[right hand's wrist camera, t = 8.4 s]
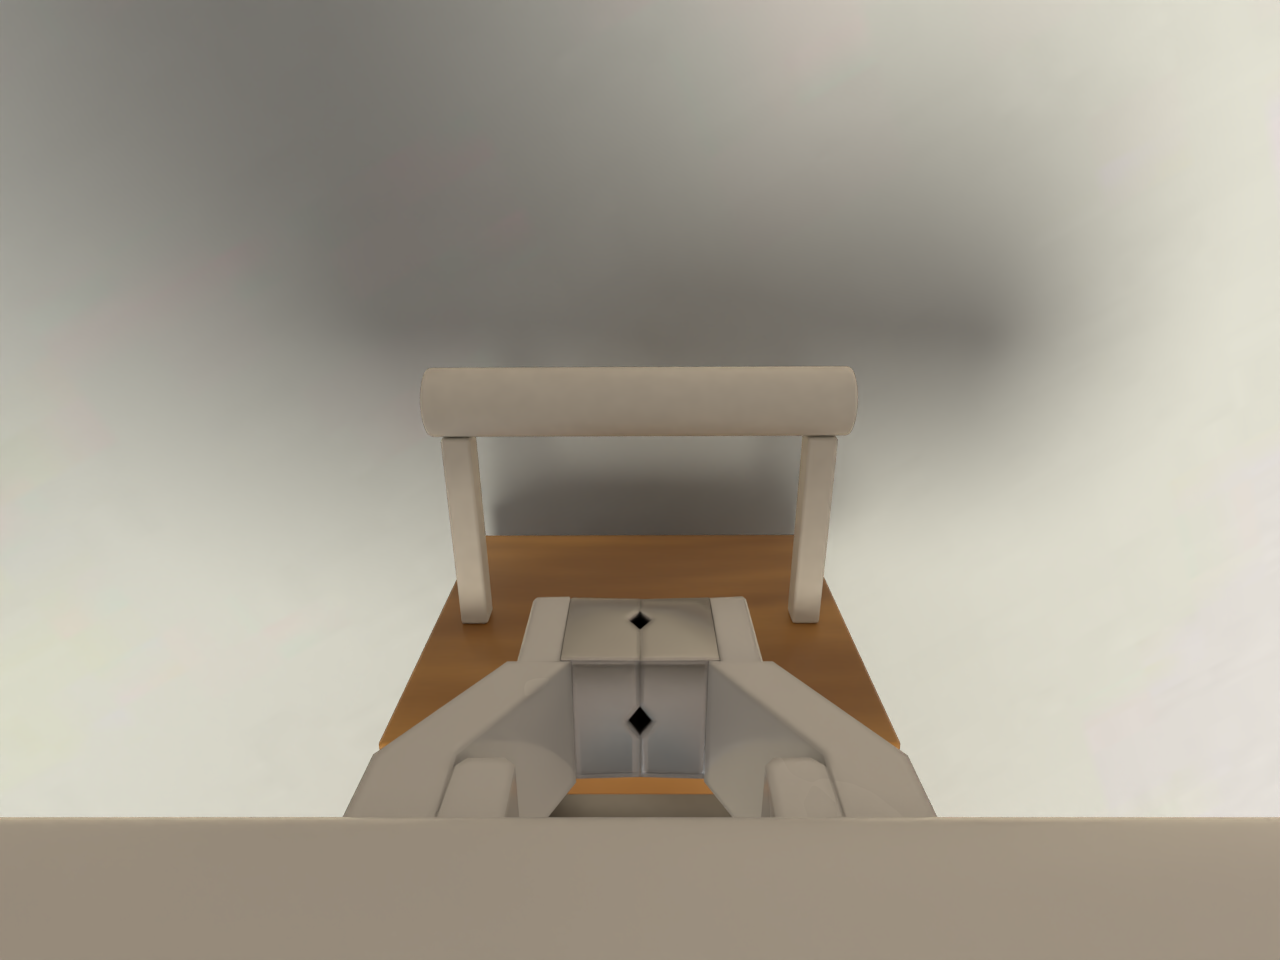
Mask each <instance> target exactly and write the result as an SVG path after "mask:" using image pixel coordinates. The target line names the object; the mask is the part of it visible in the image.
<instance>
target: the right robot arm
mask: <svg viewBox="0 0 1280 960" xmlns="http://www.w3.org/2000/svg"><path fill="white" fill-rule="evenodd" d="M622 777H656V778H693V779H704V782H705V784H706V785H707V786H708V787H709V789H710V790H711V791H712V792H713V794H714V795H715V796H716V797H717V799H718V800H719V801H720V802H721V804H722V805H723V806H724V807H725V809H726V810H727V811H728V812H729V814H730V815H731V816H732V817H549V816H550V814H551V813H552V812H553V811H554V809H555V808H556V807H557V806H558V804H559V803H560V802H561V801H562V799H563V798H564V797H565V796H566V794H567V793H568V792H569V791H570V789H571V788H572V787H573V786H574V784H575V783H576V779H587V778H622ZM0 960H1280V817H937V816H936V813H935V811H934V809H933V807H932V805H931V803H930V801H929V799H928V797H927V795H926V793H925V791H924V788H923V786H922V784H921V782H920V780H919V778H918V776H917V774H916V772H915V770H914V768H913V766H912V763H911V761H910V759H909V757H908V755H906V754H905V753H903V752H902V751H900V750H899V749H898V748H896V747H895V746H893V745H892V744H890V743H889V742H888V741H886V740H885V739H883V738H882V737H880V736H879V735H878V734H876V733H875V732H873V731H872V730H870V729H869V728H868V727H866V726H865V725H863V724H862V723H860V722H859V721H857V720H856V719H855V718H853V717H852V716H850V715H849V714H847V713H846V712H845V711H843V710H842V709H840V708H839V707H837V706H836V705H835V704H833V703H832V702H830V701H829V700H827V699H826V698H825V697H823V696H822V695H820V694H819V693H817V692H816V691H815V690H813V689H812V688H810V687H809V686H807V685H806V684H804V683H803V682H802V681H800V680H799V679H797V678H796V677H794V676H793V675H792V674H790V673H789V672H787V671H786V670H784V669H783V668H782V667H780V666H779V665H777V664H776V663H774V662H773V661H763V660H762V656H761V653H760V649H759V645H758V642H757V638H756V634H755V631H754V627H753V623H752V620H751V616H750V612H749V609H748V605H747V601H746V599H745V598H744V597H743V596H739V597H715V598H709V597H706V598H665V599H640V598H588V597H572V598H570V597H537V598H536V599H535V600H534V601H533V604H532V608H531V612H530V615H529V619H528V623H527V626H526V630H525V634H524V638H523V641H522V645H521V649H520V653H519V656H518V660H517V661H507V662H506V663H504V664H503V665H501V666H500V667H498V668H497V669H496V670H494V671H493V672H491V673H490V674H488V675H487V676H486V677H484V678H483V679H481V680H480V681H478V682H477V683H475V684H474V685H473V686H471V687H470V688H468V689H467V690H465V691H464V692H462V693H461V694H460V695H458V696H457V697H455V698H454V699H452V700H451V701H450V702H448V703H447V704H445V705H444V706H442V707H441V708H439V709H438V710H437V711H435V712H434V713H432V714H431V715H429V716H428V717H426V718H425V719H424V720H422V721H421V722H419V723H418V724H416V725H415V726H414V727H412V728H411V729H409V730H408V731H406V732H405V733H403V734H402V735H401V736H399V737H398V738H396V739H395V740H393V741H392V742H391V743H389V744H388V745H386V746H385V747H383V748H382V749H380V750H379V751H378V752H376V753H375V754H373V756H372V758H371V760H370V762H369V764H368V766H367V768H366V770H365V772H364V774H363V777H362V779H361V781H360V783H359V785H358V787H357V789H356V791H355V793H354V795H353V797H352V799H351V801H350V803H349V805H348V807H347V809H346V811H345V814H344V816H343V817H0Z"/></svg>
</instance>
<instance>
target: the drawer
mask: <svg viewBox="0 0 1280 960" xmlns="http://www.w3.org/2000/svg"><path fill="white" fill-rule="evenodd" d="M857 406H858V389H857V382H856V377H855V374H854V372H853V370H852V369H851V368H850V367H848V366H767V367H507V368H429V369H427V370H426V371H425V373H424V375H423V378H422V382H421V389H420V409H421V416H422V421H423V424H424V427H425V430H426V432H427V433H428V434H429V435H430V436H433V437H443V439H442V440H441V448H442V456H443V465H444V474H445V482H446V491H447V499H448V508H449V517H450V525H451V534H452V542H453V551H454V560H455V568H456V577H457V580H456V582H455V584H454V586H453V588H452V590H451V593H450V595H449V597H448V599H447V601H446V603H445V605H444V607H443V609H442V612H441V614H440V616H439V618H438V620H437V622H436V624H435V626H434V628H433V630H432V633H431V635H430V637H429V639H428V641H427V643H426V645H425V647H424V649H423V652H422V654H421V656H420V658H419V660H418V662H417V664H416V666H415V668H414V670H413V673H412V675H411V677H410V679H409V681H408V683H407V685H406V687H405V689H404V692H403V694H402V696H401V698H400V700H399V702H398V704H397V706H396V708H395V711H394V713H393V715H392V717H391V719H390V721H389V723H388V725H387V727H386V729H385V732H384V734H383V736H382V738H381V740H380V742H379V749H382V748H383V747H385V746H386V745H388V744H389V743H391V742H392V741H393V740H395V739H396V738H398V737H399V736H401V735H402V734H403V733H405V732H406V731H408V730H409V729H411V728H412V727H414V726H415V725H416V724H418V723H419V722H421V721H422V720H424V719H425V718H426V717H428V716H429V715H431V714H432V713H434V712H435V711H437V710H438V709H439V708H441V707H442V706H444V705H445V704H447V703H448V702H450V701H451V700H452V699H454V698H455V697H457V696H458V695H460V694H461V693H462V692H464V691H465V690H467V689H468V688H470V687H471V686H473V685H474V684H475V683H477V682H478V681H480V680H481V679H483V678H484V677H486V676H487V675H488V674H490V673H491V672H493V671H494V670H496V669H497V668H498V667H500V666H501V665H503V664H504V663H506V662H507V661H517V660H518V656H519V653H520V649H521V645H522V641H523V638H524V634H525V630H526V626H527V623H528V619H529V615H530V612H531V608H532V604H533V601H534V600H535V599H536V598H537V597H570V598H572V597H588V598H640V599H665V598H706V597H709V598H715V597H739V596H743V597H744V598H745V599H746V601H747V605H748V609H749V612H750V616H751V620H752V623H753V627H754V631H755V634H756V638H757V642H758V645H759V649H760V653H761V656H762V660H763V661H773V662H774V663H776V664H777V665H779V666H780V667H782V668H783V669H784V670H786V671H787V672H789V673H790V674H792V675H793V676H794V677H796V678H797V679H799V680H800V681H802V682H803V683H804V684H806V685H807V686H809V687H810V688H812V689H813V690H815V691H816V692H817V693H819V694H820V695H822V696H823V697H825V698H826V699H827V700H829V701H830V702H832V703H833V704H835V705H836V706H837V707H839V708H840V709H842V710H843V711H845V712H846V713H847V714H849V715H850V716H852V717H853V718H855V719H856V720H857V721H859V722H860V723H862V724H863V725H865V726H866V727H868V728H869V729H870V730H872V731H873V732H875V733H876V734H878V735H879V736H880V737H882V738H883V739H885V740H886V741H888V742H889V743H890V744H892V745H893V746H895V747H896V748H898V749H899V750H900V742H899V739H898V737H897V735H896V733H895V731H894V729H893V726H892V724H891V722H890V720H889V718H888V715H887V713H886V711H885V709H884V707H883V705H882V702H881V700H880V698H879V696H878V694H877V692H876V689H875V687H874V685H873V683H872V681H871V679H870V676H869V674H868V672H867V670H866V668H865V666H864V663H863V661H862V659H861V657H860V655H859V652H858V650H857V648H856V646H855V644H854V642H853V639H852V637H851V635H850V633H849V631H848V629H847V626H846V624H845V622H844V620H843V618H842V616H841V613H840V611H839V609H838V607H837V605H836V602H835V600H834V598H833V596H832V594H831V592H830V589H829V587H828V585H827V583H826V581H825V579H824V567H825V557H826V548H827V538H828V529H829V519H830V510H831V500H832V490H833V481H834V471H835V462H836V452H837V443H838V440H837V438H836V437H835V435H847V434H849V433H850V432H851V431H852V429H853V426H854V423H855V420H856V415H857ZM506 436H802V448H801V460H800V471H799V483H798V495H797V507H796V519H795V530H794V535H531V536H485V525H484V515H483V505H482V494H481V484H480V474H479V463H478V453H477V442H476V437H506ZM549 817H732V816H731V815H730V814H729V812H728V811H727V810H726V809H725V807H724V806H723V805H722V804H721V802H720V801H719V800H718V799H717V797H716V796H715V795H714V794H713V792H712V791H711V790H710V789H709V787H708V786H707V785H706V784H705V782H704V779H693V778H656V777H622V778H587V779H576V783H575V784H574V786H573V787H572V788H571V789H570V791H569V792H568V793H567V794H566V796H565V797H564V798H563V799H562V801H561V802H560V803H559V804H558V806H557V807H556V808H555V809H554V811H553V812H552V813H551V814H550V816H549Z"/></svg>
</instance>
